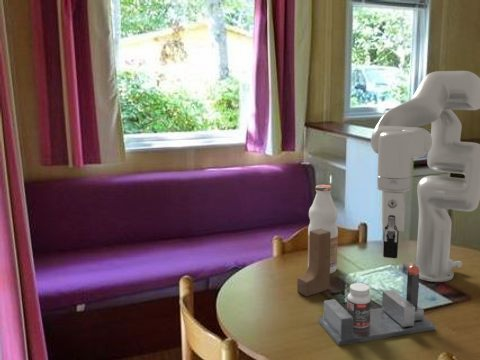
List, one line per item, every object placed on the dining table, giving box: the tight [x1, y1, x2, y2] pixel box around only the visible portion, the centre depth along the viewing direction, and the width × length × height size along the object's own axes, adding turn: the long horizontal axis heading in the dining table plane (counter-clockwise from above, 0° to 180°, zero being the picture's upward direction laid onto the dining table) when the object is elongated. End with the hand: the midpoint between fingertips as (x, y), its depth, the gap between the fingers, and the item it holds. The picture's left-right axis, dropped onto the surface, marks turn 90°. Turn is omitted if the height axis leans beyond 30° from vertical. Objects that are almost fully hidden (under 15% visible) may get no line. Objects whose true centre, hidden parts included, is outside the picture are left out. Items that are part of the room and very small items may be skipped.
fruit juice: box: [307, 184, 339, 275], centre depth 157 cm, size 9×9×28 cm
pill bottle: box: [346, 282, 372, 328], centre depth 121 cm, size 6×6×10 cm
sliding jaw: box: [381, 264, 425, 327], centre depth 124 cm, size 7×10×14 cm
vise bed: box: [317, 298, 436, 347], centre depth 123 cm, size 26×12×6 cm, turn 104°
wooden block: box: [296, 228, 331, 297], centre depth 142 cm, size 9×4×18 cm, turn 122°
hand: (390, 250), depth 120 cm, fingers open, 9 cm apart
